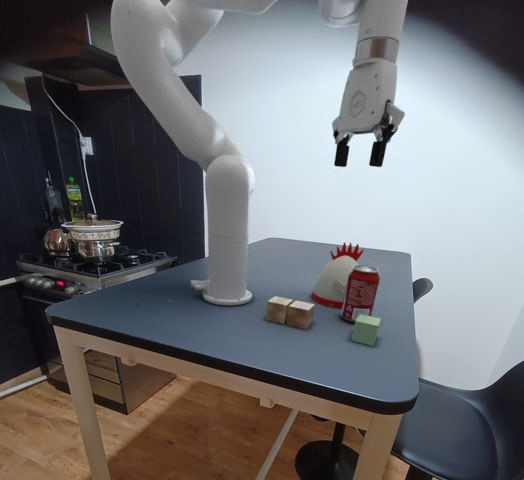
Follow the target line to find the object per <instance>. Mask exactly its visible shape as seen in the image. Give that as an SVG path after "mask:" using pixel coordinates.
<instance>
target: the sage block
mask: <svg viewBox="0 0 524 480" xmlns="http://www.w3.org/2000/svg"><path fill="white" fill-rule="evenodd" d="M381 321H382V318H381V317H376V316H372V315H371V316H367V315H362V314H359V316H358V317H357V319H356V321H355V323H354V326H353V330H352V335H351V339H350V341H352V342H355V343H359V344H363V345H367V346H371V347H374V345H375V343H376V341H377V337H378V333H379V329H380V325H381Z"/></svg>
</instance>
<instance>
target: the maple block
mask: <svg viewBox="0 0 524 480" xmlns="http://www.w3.org/2000/svg"><path fill="white" fill-rule="evenodd" d="M293 302H294V299H291V298H286V297H281V296H276V295H275V296H272V298H270V299H269V300H267V303H266V305H267V306H266V317H265V320H266V321H269V322H273V323H277V324H281V325H285V324H287V319H288V310H289V306H290V305H291V304H292V303H293Z"/></svg>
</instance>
